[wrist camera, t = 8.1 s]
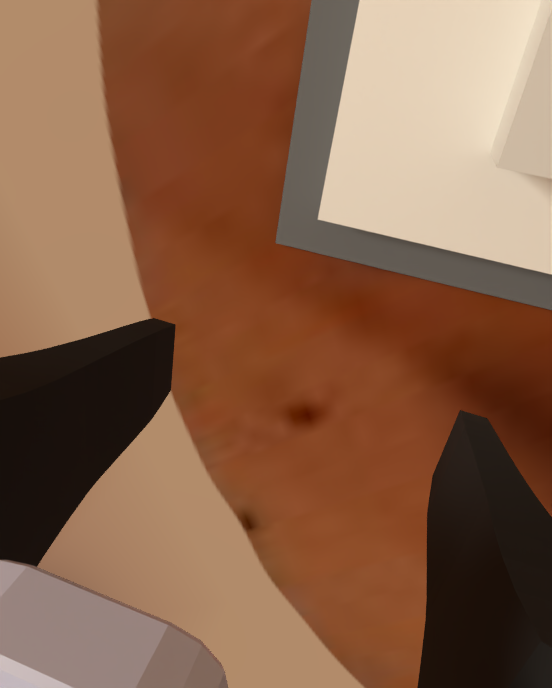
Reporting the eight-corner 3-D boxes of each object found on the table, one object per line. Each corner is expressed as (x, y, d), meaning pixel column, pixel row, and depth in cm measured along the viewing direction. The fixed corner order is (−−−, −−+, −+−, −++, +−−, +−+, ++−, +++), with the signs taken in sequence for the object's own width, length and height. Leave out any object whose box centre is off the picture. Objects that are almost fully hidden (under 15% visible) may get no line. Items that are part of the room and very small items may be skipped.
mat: (683, 338, 18) (688, 343, 18) (278, 240, 21) (275, 242, 21) (1062, -282, 11) (1082, -293, 11) (361, -307, 14) (359, -316, 13)
